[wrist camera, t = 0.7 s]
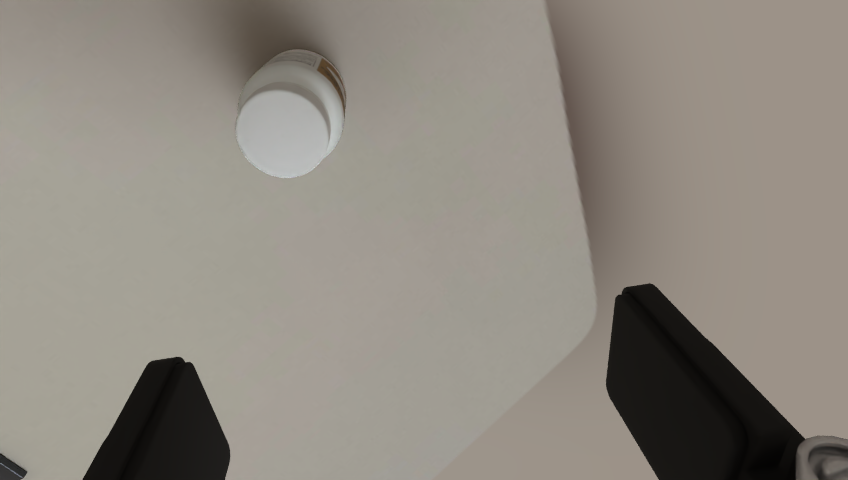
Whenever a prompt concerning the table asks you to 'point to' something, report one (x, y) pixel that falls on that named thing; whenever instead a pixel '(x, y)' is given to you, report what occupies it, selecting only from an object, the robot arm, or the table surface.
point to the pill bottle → (291, 113)
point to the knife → (10, 470)
